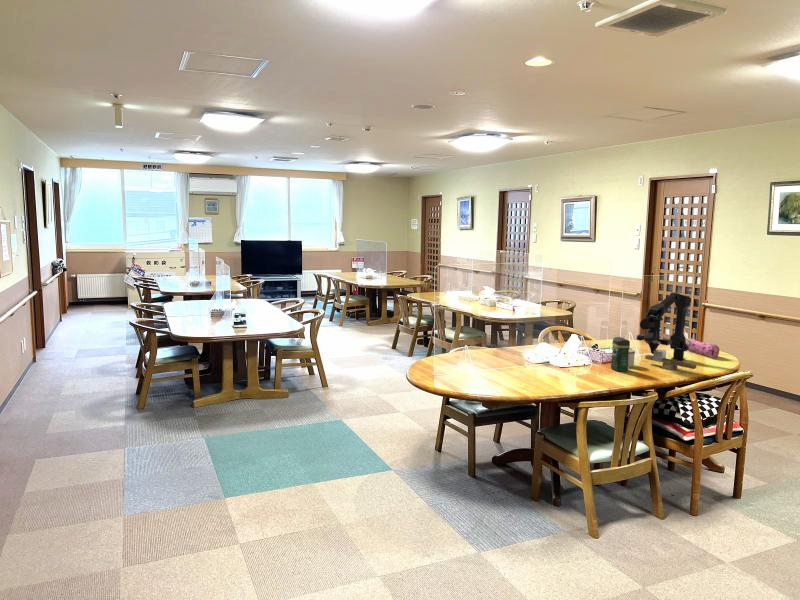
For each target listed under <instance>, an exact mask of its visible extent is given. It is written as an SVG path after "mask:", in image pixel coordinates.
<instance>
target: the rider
mask: <svg viewBox="0 0 800 600" xmlns="http://www.w3.org/2000/svg"><path fill="white" fill-rule="evenodd" d="M652 356H653V360H654V361H653V360H652V361H653V362H658V361H659V363H662V359H663V358H666V359H667V350H663V349H658V348H657V349H656V350H654V354H652Z"/></svg>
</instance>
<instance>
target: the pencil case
mask: <svg viewBox="0 0 800 600" xmlns="http://www.w3.org/2000/svg"><path fill="white" fill-rule="evenodd" d="M686 344H687V346H688V352H691V353H696V354H699V355H702V356H707V357H709V358H711V359H715V358H717V357H718V356H719V354H720V347H719V346H718V345H717V344H712V343H706V342H702V341H697V340H696V339H695V338H693V337H691V338H688V340H687V341H686Z"/></svg>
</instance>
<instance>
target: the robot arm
mask: <svg viewBox="0 0 800 600" xmlns="http://www.w3.org/2000/svg"><path fill="white" fill-rule="evenodd" d="M691 303H692V298H691V297H690V296H689V295H684V294H681V293H679V292H670V294H669V295H668V296H667V297H665V298H664V299H663V300H662V301H660V302H659V303H657V304H653V305H652V306H650V307H649V309H648V310H647V312H646V315H645V316H644V317H643V319H642V320H641V321H640V322H639V327H640V329H642V330H647V333H645V334H643V333H640V334H637V335H636V340H637V341H642V340H644V342H645V344H647V345H648V347H649V349H650V353H651V355H654V350H657V349H658V347H659V346H660V345H663V346H669V347H670V349H672V350H673V355H672V356H673V357H670V359H671V360H676V361H681V362H684V361H685V360H686V358H685V356H684V354H685V352H687V351H688V346H687V341H686V336H685V334H684V331H685V325H686V324H685V323H686V315H687V310H688V309H689V308H690V306H691ZM673 304H674V305H675V307H676V310H677V311H676V314H675V315H676V317H675V324H674V325H675V326H674V332H673V334H671V335H670V337H669V338H661V335H660V334H661V332H662V329H661V324H662V321H664V318H663V316H664V315H665V314H666V310H667V309H669V307H671V306H672V305H673ZM688 352H689V351H688Z"/></svg>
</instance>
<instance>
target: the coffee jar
mask: <svg viewBox="0 0 800 600" xmlns="http://www.w3.org/2000/svg"><path fill="white" fill-rule="evenodd" d="M611 346H612V352H611V353H612V354H611V359H610V368H611V369H612V370H614V371H616V372H620V373H623V372H624V373H625V372H627V371H629V367H628V355H629V348H631V347H630V346H631V342H630V340H629V339H626V338H624V337H621V336H616V337H615V336H614V337H613V339H612V345H611Z"/></svg>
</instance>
